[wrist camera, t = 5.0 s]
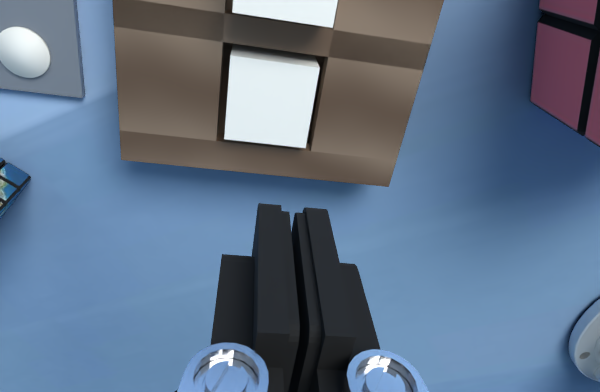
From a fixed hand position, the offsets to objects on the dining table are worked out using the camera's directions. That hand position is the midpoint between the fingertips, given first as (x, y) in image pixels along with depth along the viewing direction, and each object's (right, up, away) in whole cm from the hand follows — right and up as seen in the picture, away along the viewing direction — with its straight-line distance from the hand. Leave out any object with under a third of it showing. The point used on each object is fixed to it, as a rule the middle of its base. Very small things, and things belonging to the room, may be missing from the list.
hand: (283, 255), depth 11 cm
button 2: (-1, +7, +12) cm, 14 cm away
